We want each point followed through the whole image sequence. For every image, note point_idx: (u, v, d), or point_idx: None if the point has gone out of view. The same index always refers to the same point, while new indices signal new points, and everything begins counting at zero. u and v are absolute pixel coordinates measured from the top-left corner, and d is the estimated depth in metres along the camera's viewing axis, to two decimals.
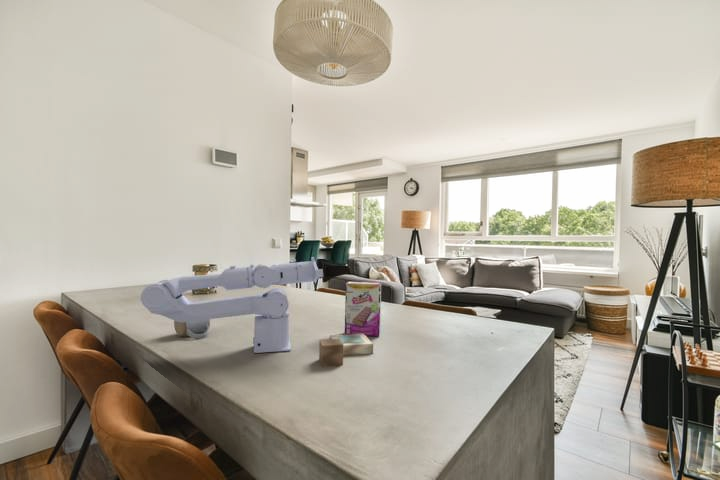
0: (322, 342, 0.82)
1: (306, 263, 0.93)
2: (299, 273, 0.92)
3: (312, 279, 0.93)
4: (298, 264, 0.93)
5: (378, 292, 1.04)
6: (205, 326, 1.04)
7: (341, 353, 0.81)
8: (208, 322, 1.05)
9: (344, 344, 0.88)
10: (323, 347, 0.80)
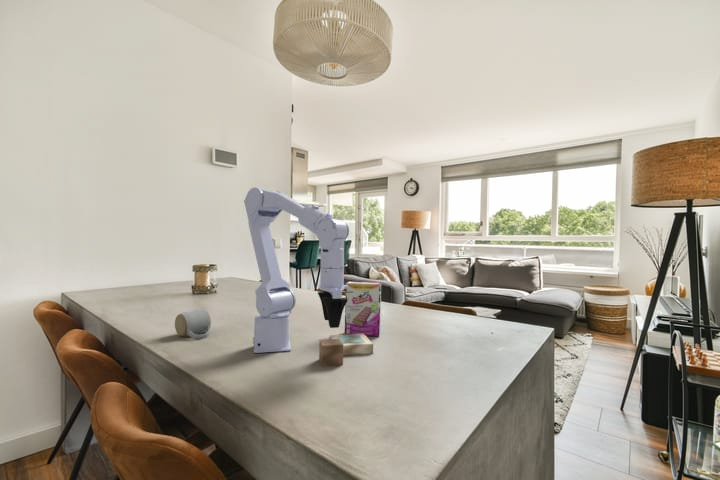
0: (322, 342, 0.82)
1: (343, 279, 0.82)
2: (334, 270, 0.80)
3: (324, 285, 0.80)
4: (342, 270, 0.82)
5: (378, 292, 1.05)
6: (206, 326, 1.04)
7: (341, 353, 0.81)
8: (209, 322, 1.05)
9: (344, 344, 0.88)
10: (323, 347, 0.80)
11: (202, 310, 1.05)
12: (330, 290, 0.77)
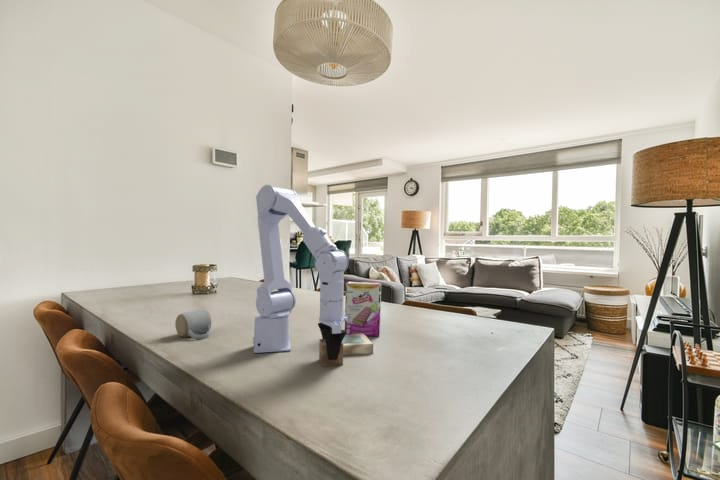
0: (322, 342, 0.82)
1: (342, 311, 0.82)
2: (333, 303, 0.80)
3: (324, 318, 0.80)
4: (342, 302, 0.82)
5: (378, 292, 1.05)
6: (206, 326, 1.04)
7: (341, 353, 0.81)
8: (209, 322, 1.04)
9: (344, 344, 0.88)
10: (323, 347, 0.80)
11: (203, 310, 1.05)
12: (330, 324, 0.77)
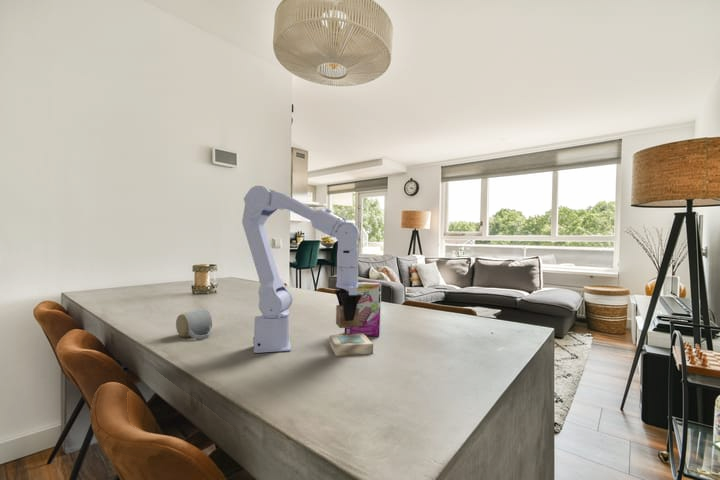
0: (339, 306, 0.90)
1: (357, 277, 0.90)
2: (349, 270, 0.88)
3: (341, 283, 0.88)
4: (357, 269, 0.90)
5: (378, 292, 1.04)
6: (207, 327, 1.04)
7: (357, 316, 0.89)
8: (210, 323, 1.04)
9: (344, 344, 0.88)
10: (341, 310, 0.88)
11: (203, 310, 1.05)
12: (346, 287, 0.85)
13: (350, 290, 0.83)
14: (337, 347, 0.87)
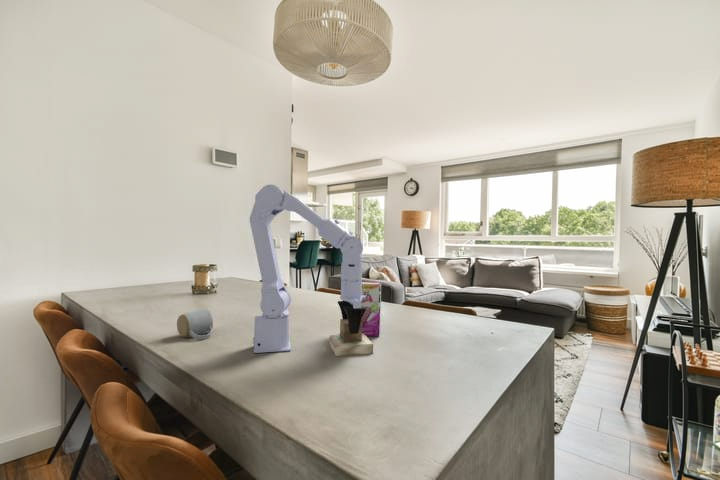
0: (343, 321, 0.93)
1: (361, 290, 0.92)
2: (353, 283, 0.90)
3: (345, 296, 0.91)
4: (361, 282, 0.92)
5: (378, 292, 1.04)
6: (208, 327, 1.03)
7: (360, 330, 0.91)
8: (211, 323, 1.04)
9: (344, 344, 0.88)
10: (344, 325, 0.90)
11: (204, 311, 1.05)
12: (351, 301, 0.87)
13: (354, 303, 0.86)
14: (337, 347, 0.87)
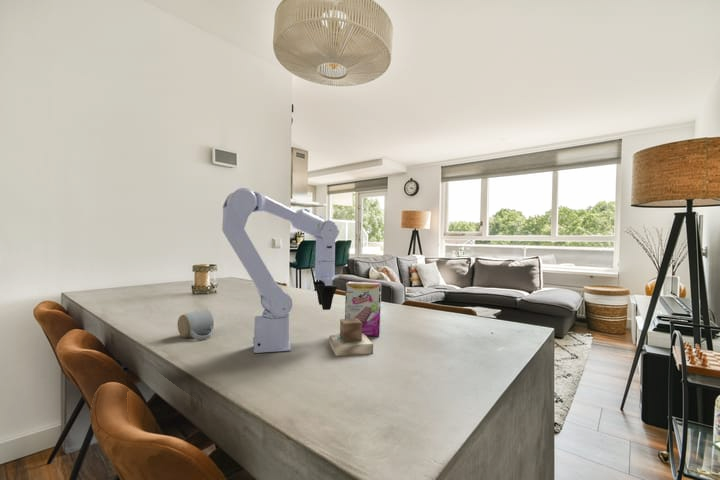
0: (343, 321, 0.93)
1: (334, 270, 0.99)
2: (326, 263, 0.97)
3: (318, 275, 0.98)
4: (333, 263, 0.99)
5: (378, 292, 1.05)
6: (209, 327, 1.03)
7: (360, 330, 0.91)
8: (212, 323, 1.04)
9: (344, 344, 0.88)
10: (344, 325, 0.90)
11: (205, 311, 1.04)
12: (323, 279, 0.95)
13: (326, 281, 0.93)
14: (337, 347, 0.87)
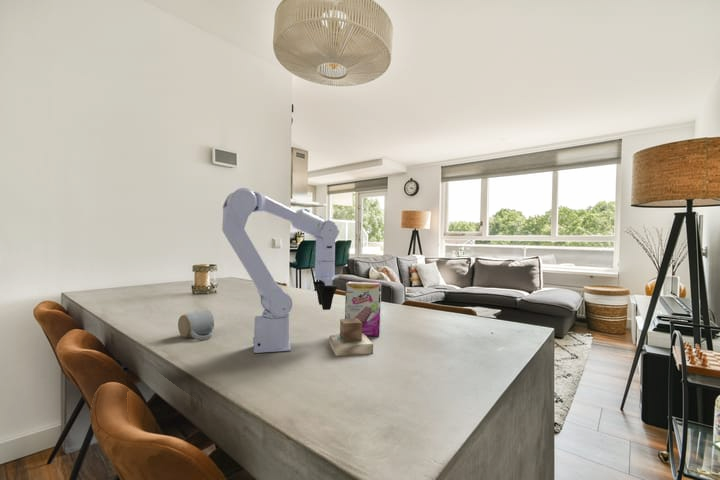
0: (343, 321, 0.93)
1: (334, 270, 0.99)
2: (326, 263, 0.97)
3: (318, 275, 0.98)
4: (333, 263, 0.99)
5: (378, 292, 1.04)
6: (209, 327, 1.03)
7: (360, 330, 0.91)
8: (212, 323, 1.03)
9: (344, 344, 0.88)
10: (344, 325, 0.90)
11: (205, 311, 1.04)
12: (323, 279, 0.95)
13: (326, 281, 0.93)
14: (337, 347, 0.87)
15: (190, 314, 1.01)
